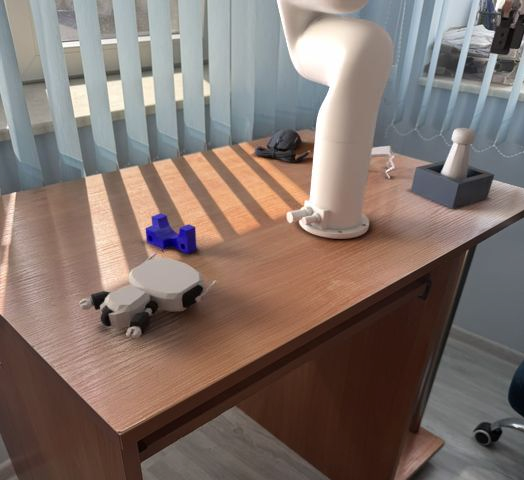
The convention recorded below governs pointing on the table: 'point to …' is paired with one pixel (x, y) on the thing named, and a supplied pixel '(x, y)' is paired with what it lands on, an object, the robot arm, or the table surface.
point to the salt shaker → (459, 154)
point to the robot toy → (149, 294)
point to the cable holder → (170, 235)
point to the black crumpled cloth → (282, 146)
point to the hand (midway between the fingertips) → (504, 51)
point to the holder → (451, 185)
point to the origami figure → (384, 155)
